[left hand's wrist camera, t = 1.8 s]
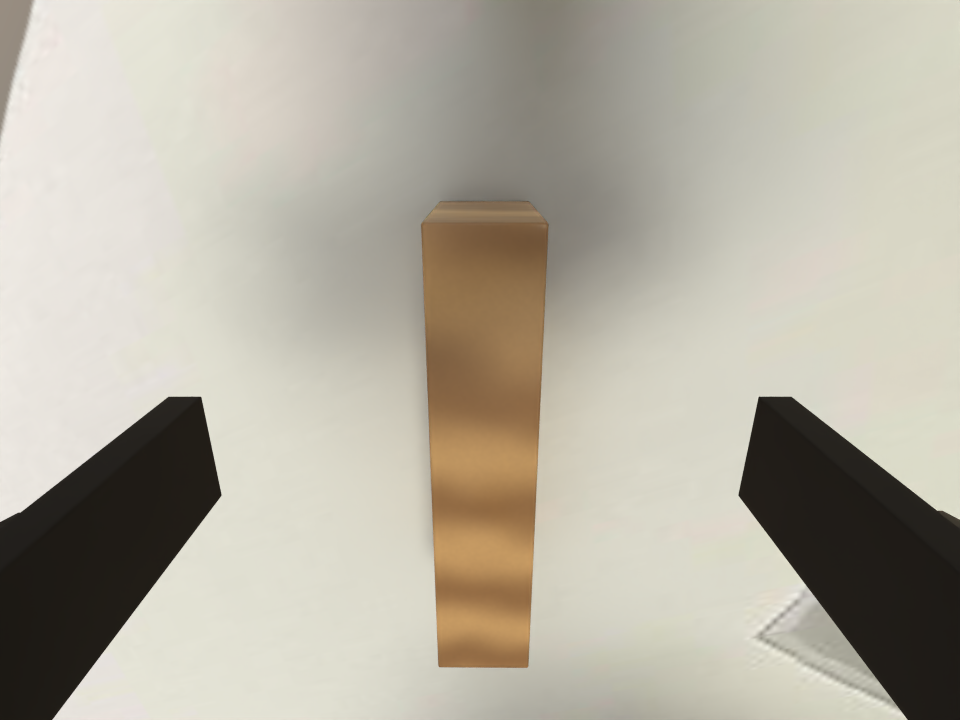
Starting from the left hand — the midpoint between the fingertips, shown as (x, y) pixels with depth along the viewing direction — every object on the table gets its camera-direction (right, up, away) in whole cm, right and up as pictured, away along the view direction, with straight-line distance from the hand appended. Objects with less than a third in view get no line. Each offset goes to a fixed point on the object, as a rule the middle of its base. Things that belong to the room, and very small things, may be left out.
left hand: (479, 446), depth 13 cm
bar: (0, 0, +20) cm, 20 cm away
